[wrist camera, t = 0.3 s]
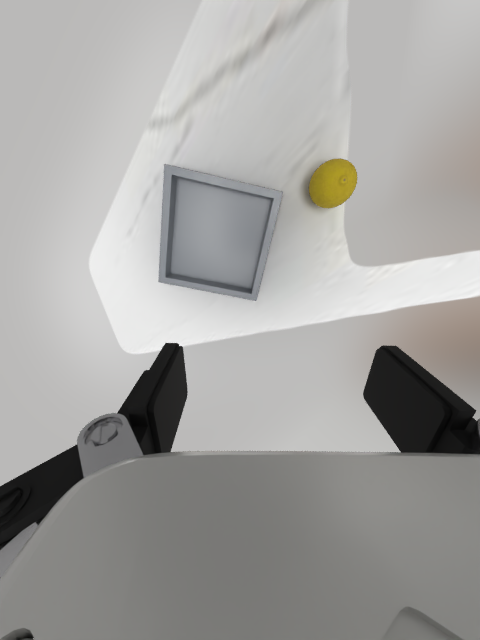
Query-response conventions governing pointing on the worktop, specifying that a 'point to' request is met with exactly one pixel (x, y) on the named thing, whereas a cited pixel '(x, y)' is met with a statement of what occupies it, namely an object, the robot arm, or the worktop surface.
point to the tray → (215, 232)
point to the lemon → (333, 183)
